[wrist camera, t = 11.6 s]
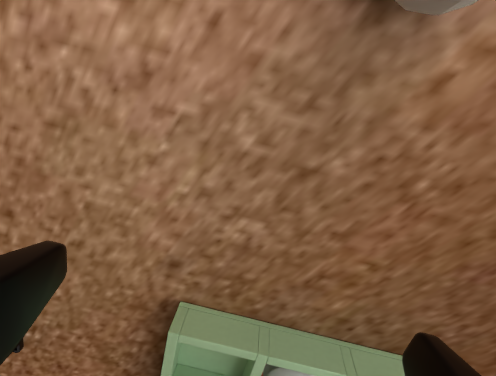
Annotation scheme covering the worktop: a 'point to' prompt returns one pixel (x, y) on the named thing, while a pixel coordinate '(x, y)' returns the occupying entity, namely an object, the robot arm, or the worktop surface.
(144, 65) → the worktop surface
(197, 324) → the grid
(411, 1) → the salt shaker
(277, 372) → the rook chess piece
